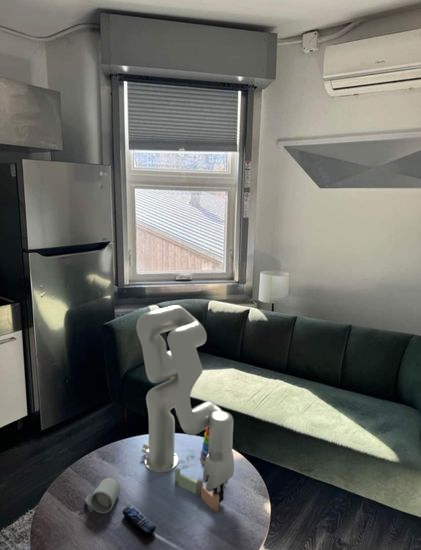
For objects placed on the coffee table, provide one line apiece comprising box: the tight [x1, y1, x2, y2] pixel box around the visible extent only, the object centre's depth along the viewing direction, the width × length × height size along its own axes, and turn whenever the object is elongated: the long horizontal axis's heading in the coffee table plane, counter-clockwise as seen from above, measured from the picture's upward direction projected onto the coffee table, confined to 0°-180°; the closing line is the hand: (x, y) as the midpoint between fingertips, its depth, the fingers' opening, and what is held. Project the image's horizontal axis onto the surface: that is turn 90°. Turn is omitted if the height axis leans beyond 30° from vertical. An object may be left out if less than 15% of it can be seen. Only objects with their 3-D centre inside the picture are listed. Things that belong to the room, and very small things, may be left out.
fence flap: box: [196, 478, 220, 513], centre depth 132 cm, size 10×2×6 cm, turn 39°
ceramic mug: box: [85, 477, 121, 514], centre depth 131 cm, size 11×8×8 cm
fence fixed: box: [174, 467, 198, 495], centre depth 138 cm, size 9×2×6 cm, turn 60°
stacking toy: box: [199, 427, 209, 465], centre depth 151 cm, size 8×8×19 cm
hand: (218, 499), depth 132 cm, fingers closed
